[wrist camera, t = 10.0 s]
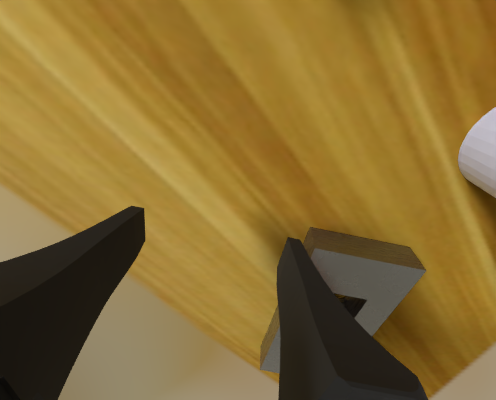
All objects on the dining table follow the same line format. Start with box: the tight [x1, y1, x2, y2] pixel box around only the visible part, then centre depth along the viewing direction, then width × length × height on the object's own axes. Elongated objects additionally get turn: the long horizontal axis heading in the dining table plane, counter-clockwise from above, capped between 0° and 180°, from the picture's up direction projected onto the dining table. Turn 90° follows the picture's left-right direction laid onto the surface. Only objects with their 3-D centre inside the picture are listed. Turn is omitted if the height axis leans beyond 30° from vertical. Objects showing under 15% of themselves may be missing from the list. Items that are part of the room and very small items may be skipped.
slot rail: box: [260, 227, 426, 373], centre depth 28 cm, size 10×22×3 cm, turn 169°
